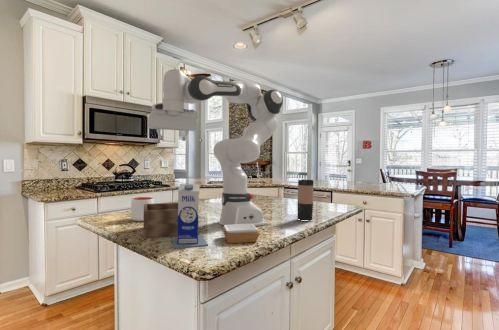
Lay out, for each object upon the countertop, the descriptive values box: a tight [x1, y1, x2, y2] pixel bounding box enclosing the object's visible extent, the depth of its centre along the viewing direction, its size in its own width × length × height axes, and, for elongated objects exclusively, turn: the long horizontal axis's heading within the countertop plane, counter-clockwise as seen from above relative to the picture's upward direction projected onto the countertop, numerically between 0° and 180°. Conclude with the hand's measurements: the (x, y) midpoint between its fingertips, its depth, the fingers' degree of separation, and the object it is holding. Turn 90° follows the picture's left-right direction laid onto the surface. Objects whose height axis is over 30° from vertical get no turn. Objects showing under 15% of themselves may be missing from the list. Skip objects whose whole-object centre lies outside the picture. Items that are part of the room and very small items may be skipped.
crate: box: [142, 202, 178, 239], centre depth 113 cm, size 16×16×10 cm
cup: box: [130, 196, 155, 222], centre depth 134 cm, size 10×10×10 cm
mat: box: [171, 235, 209, 249], centre depth 99 cm, size 11×11×1 cm
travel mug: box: [296, 179, 314, 221], centre depth 140 cm, size 8×8×20 cm
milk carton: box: [177, 183, 200, 244], centre depth 99 cm, size 7×7×20 cm
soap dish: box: [222, 224, 261, 244], centre depth 104 cm, size 12×10×5 cm
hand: (172, 140), depth 121 cm, fingers open, 8 cm apart
